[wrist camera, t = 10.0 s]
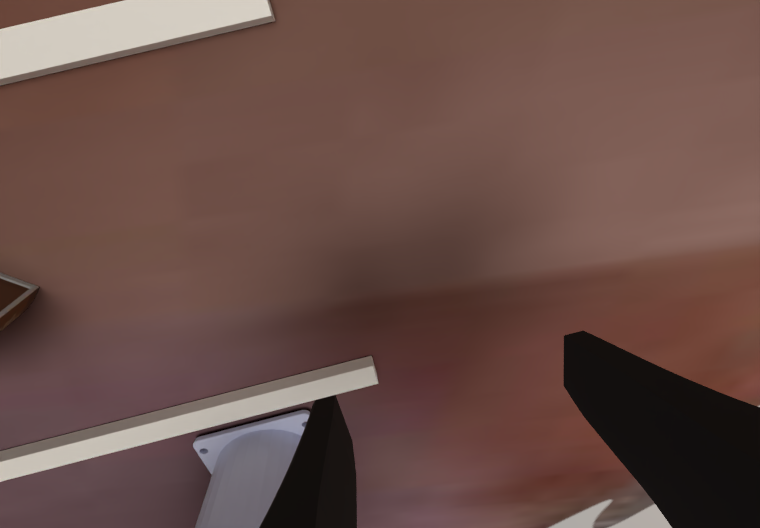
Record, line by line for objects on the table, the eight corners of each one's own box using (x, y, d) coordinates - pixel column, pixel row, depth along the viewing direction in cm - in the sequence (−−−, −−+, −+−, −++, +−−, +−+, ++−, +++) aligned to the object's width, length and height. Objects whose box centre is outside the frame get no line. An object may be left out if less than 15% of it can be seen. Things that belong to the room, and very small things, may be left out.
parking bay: (376, 372, 23) (378, 383, 23) (-96, 495, 23) (-114, 511, 22) (263, -22, 14) (258, -31, 14) (-525, 161, 14) (-585, 164, 13)
